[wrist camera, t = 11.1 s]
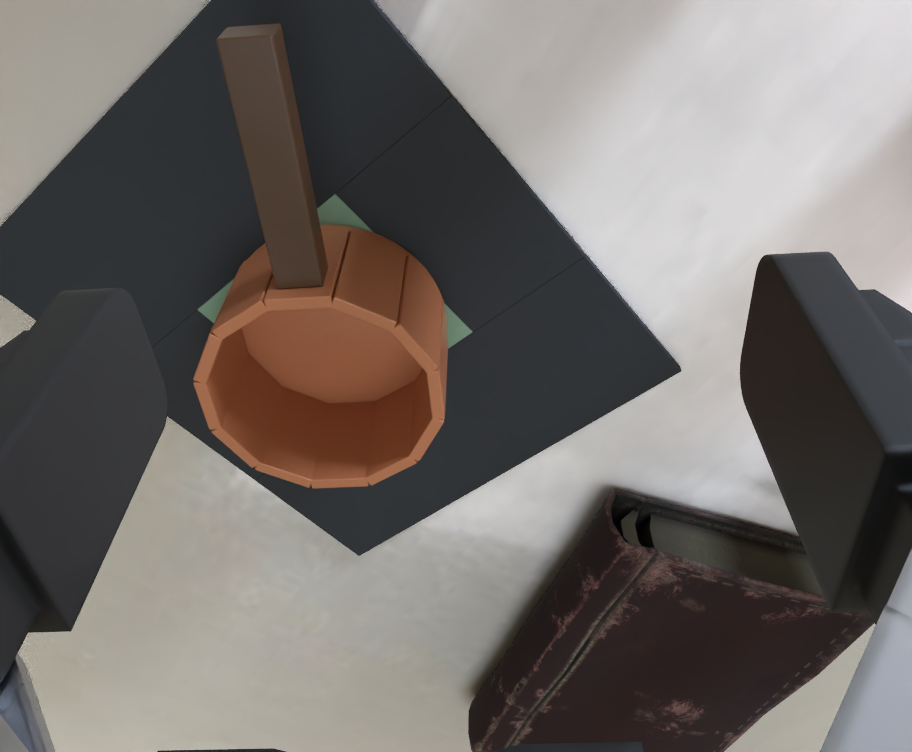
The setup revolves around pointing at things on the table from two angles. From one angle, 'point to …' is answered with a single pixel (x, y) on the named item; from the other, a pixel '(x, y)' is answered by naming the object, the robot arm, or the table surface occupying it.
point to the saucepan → (316, 313)
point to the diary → (663, 636)
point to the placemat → (349, 204)
